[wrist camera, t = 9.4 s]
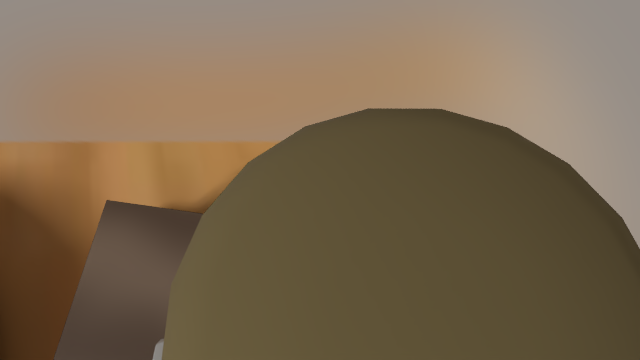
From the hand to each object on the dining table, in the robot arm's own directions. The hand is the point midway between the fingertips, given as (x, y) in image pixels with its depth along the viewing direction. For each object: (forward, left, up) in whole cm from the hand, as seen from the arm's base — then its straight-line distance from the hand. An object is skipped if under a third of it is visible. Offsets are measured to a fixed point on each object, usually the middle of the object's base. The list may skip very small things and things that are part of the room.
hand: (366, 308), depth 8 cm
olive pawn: (0, +1, -6) cm, 7 cm away
